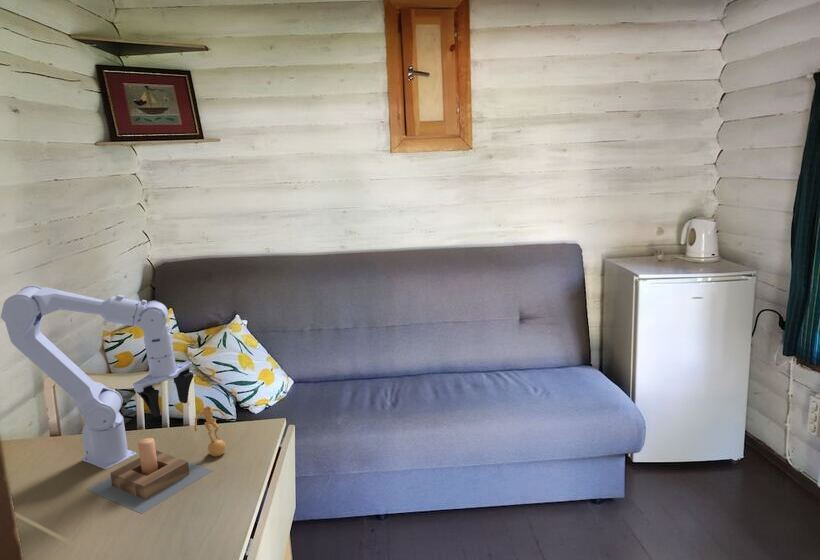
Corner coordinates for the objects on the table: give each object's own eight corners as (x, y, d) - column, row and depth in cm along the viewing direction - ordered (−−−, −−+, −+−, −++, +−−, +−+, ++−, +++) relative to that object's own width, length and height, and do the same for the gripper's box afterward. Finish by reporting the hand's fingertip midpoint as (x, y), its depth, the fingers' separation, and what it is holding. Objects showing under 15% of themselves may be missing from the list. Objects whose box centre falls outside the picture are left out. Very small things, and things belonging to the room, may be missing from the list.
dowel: (139, 481, 128) (134, 443, 126) (152, 474, 131) (147, 436, 129) (150, 485, 127) (145, 446, 125) (162, 477, 129) (157, 439, 127)
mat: (86, 491, 126) (86, 489, 126) (159, 453, 141) (159, 451, 141) (141, 515, 117) (141, 513, 117) (213, 472, 132) (213, 470, 132)
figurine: (206, 465, 135) (200, 416, 132) (192, 457, 139) (186, 409, 136) (237, 451, 141) (233, 404, 138) (223, 443, 145) (219, 397, 142)
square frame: (112, 485, 127) (110, 472, 126) (156, 461, 136) (155, 449, 135) (145, 499, 121) (143, 486, 121) (189, 474, 131) (188, 461, 130)
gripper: (143, 368, 129) (154, 425, 132) (197, 346, 141) (206, 399, 144) (123, 363, 133) (134, 419, 136) (178, 342, 145) (187, 394, 148)
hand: (170, 408), depth 140 cm, fingers open, 7 cm apart
